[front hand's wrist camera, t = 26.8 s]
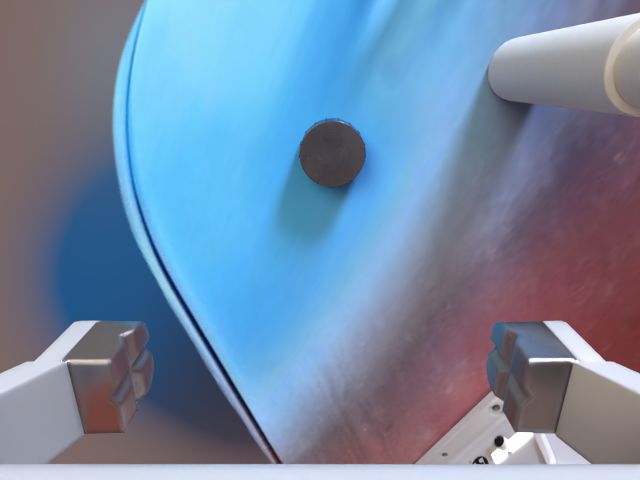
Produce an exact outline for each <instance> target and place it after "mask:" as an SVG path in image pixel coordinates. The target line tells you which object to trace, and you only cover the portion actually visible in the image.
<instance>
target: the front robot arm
mask: <svg viewBox="0 0 640 480" xmlns="http://www.w3.org/2000/svg"><path fill="white" fill-rule="evenodd" d="M148 339H149V335H148V330H147V326H146V325H145V324H144V323H143V322H124V321H78V322H74V323H73V324H72V325H71V326H70V327H69V328H68V329H67V330H66V331H65V332H64V333H63V334H62V335H61V336H60V337H59V338H58V339H57V340H56V341H55V342H54V343H53V344H52V345H51V346H50V347H49V348H48V349H47V350H46V351H45V352H44V353H43V354H42V355H41V356H40V357H39V358H38V359H37V360H35V361H34V362H25V363H23V364H21V365H19V366H16V367H14V368H12V369H10V370H7V371H5V372H3V373H1V374H0V480H640V374H639V373H637V372H635V371H633V370H630V369H628V368H626V367H624V366H621V365H619V364H617V363H615V362H606V361H605V360H604V359H603V358H602V357H600V356H599V355H598V354H597V353H596V352H595V351H594V350H593V349H592V348H591V347H590V346H589V345H588V344H587V343H586V342H585V341H584V340H583V339H582V338H581V337H580V336H579V335H578V334H577V333H576V332H575V331H574V330H573V329H572V328H571V327H570V326H569V325H568V324H567V323H566V322H563V321H535V322H498V323H495V324H494V327H493V329H492V334H491V339H492V341H493V343H494V344H495V346H496V347H495V348H494V349H493V350H492V351H491V352H490V353H489V354H488V359H487V378H488V382H489V385H490V388H491V390H492V391H491V392H490V393H489V394H488V395H487V396H486V397H485V398H483V399H482V400H481V401H480V402H479V403H478V404H477V405H476V406H475V407H474V408H473V409H472V410H471V411H470V412H469V413H468V414H467V415H466V416H464V417H463V418H462V419H461V420H460V421H459V422H458V423H457V424H456V425H455V426H454V427H453V428H452V429H451V430H450V431H449V432H448V433H447V434H445V435H444V436H443V437H442V438H441V439H440V440H439V441H438V442H437V443H436V444H435V445H434V446H433V447H432V448H431V449H430V450H429V451H427V452H426V453H425V454H424V455H423V456H422V457H421V458H420V459H419V460H418V461H417V462H416V463H415V464H49V463H50V462H52V461H53V460H54V459H56V458H57V457H58V456H59V455H61V454H62V453H63V452H65V451H66V450H67V449H68V448H70V447H71V446H72V445H74V444H75V443H76V442H77V441H79V440H80V439H81V438H82V437H84V436H85V435H84V434H92V433H125V432H126V430H127V428H128V426H129V424H130V423H131V421H132V419H133V417H134V415H135V414H136V412H137V410H138V409H137V403H136V401H138V400H139V399H141V398H142V397H144V396H145V395H146V394H147V392H148V390H149V388H150V385H151V381H152V377H153V358H152V354H151V353H150V352H149V351H148V350H147V349H146V348H145V347H144V346H145V344H146V343H147V341H148ZM494 405H496V406H494Z"/></svg>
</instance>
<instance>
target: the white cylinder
mask: <svg viewBox="0 0 640 480" xmlns="http://www.w3.org/2000/svg"><path fill="white" fill-rule="evenodd" d="M488 80H489V84H490V87H491V89H492V90H493V92H494V93H495V94H496V95H497V96H499V97H500V98H502V99H504V100H508V101H515V102H523V103H531V104H539V105H547V106H555V107H563V108H571V109H579V110H587V111H595V112H603V113H611V114H619V115H627V116H635V117H640V13H637V14H632V15H627V16H622V17H617V18H612V19H608V20H603V21H598V22H593V23H588V24H583V25H578V26H573V27H568V28H563V29H558V30H553V31H548V32H543V33H538V34H533V35H528V36H523V37H518V38H514V39H511V40H509V41H507V42H505V43H504V44H503V45H501V46H500V47H499V48H498V49H497V51H496V52H495V53H494V55H493V57H492V59H491V61H490V64H489V68H488Z"/></svg>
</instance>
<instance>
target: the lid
mask: <svg viewBox="0 0 640 480" xmlns="http://www.w3.org/2000/svg"><path fill="white" fill-rule="evenodd" d="M359 134H360V133H359V131H357V130H356V129H355V128H354V127H353V126H352V125H351V124H350V123H347V122H345V121H343V120H340V119H339V118H338V119H327V118H326V119H325V120H321V121H319V122H317V123H316V122H315V123H314V125H313V126H311V127H310V128H309V129H308V131H306V132H305V135H304V137H303V140H302V141H301V143H300V145H301V147H300V155H299V157H300V161H301V165H302V168H303V169H304V171H305V173H306V174H307V175H308V176H309V177H310V178H311V179H312V180H313V181H314V182H316V183H318V184H320V185H323V186H328V187H336V186H341V185H344V184H346V183H348V182H350V181H351V180H353V179H354V178H355V177H356V176H357V175H358V174H359V172H360V171H361V169H362V167H363V164H364V161H365V157H366V156H365V146H364V145H365V144H364V142H363V140H362V138H361V136H360V135H359Z"/></svg>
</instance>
